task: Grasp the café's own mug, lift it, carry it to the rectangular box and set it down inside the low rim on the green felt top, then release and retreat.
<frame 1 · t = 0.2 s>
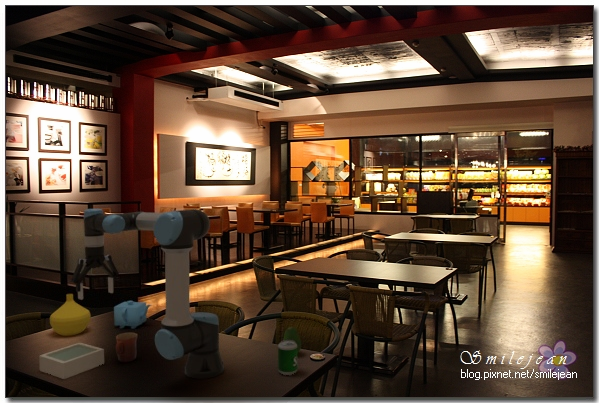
hand: (96, 295, 211), 27 cm above the table, fingers open, 13 cm apart
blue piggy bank: (136, 326, 258), on the table
vase: (71, 333, 247), on the table
soda can: (287, 373, 196), on the table
fruit: (292, 355, 215), on the table
rectangular box: (72, 367, 203), on the table
mug: (125, 361, 209), on the table
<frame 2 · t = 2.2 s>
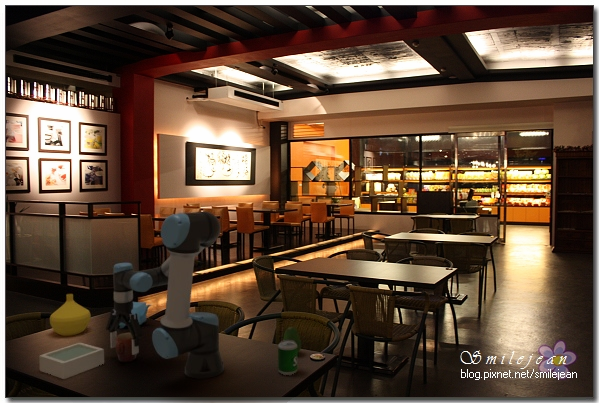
hand: (124, 350, 209), 4 cm above the table, fingers open, 13 cm apart
nothing on the table moved.
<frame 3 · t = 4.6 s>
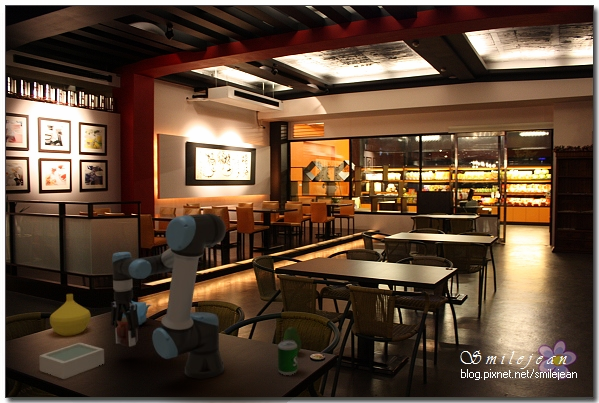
hand: (125, 343, 209), 8 cm above the table, fingers closed on mug, 7 cm apart
mug: (126, 345, 208), point 7 cm above the table, touching gripper
everything else where it was.
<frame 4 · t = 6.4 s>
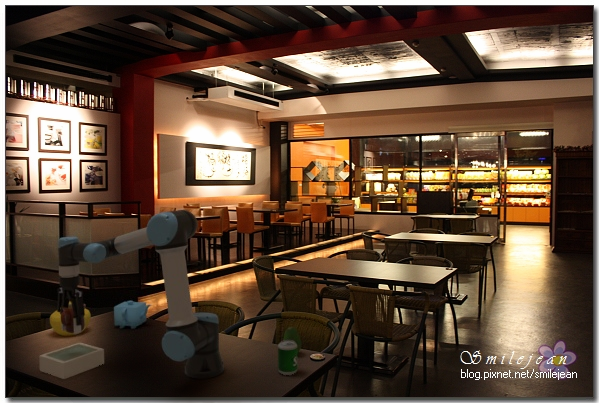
hand: (71, 331, 202), 15 cm above the table, fingers closed on mug, 7 cm apart
mug: (72, 332, 202), point 14 cm above the table, touching gripper
everything else where it was.
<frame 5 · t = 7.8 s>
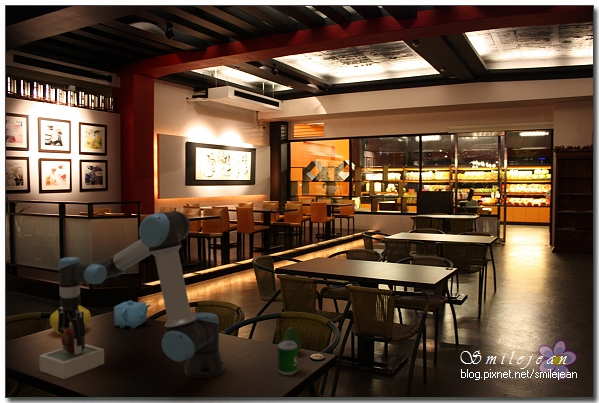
hand: (72, 351, 203), 7 cm above the table, fingers closed on mug, 7 cm apart
mug: (73, 352, 203), point 6 cm above the table, touching gripper
everything else where it was.
when the fingers open (6 cm above the table, at t = 8.7 s): mug stays where it is, resting on rectangular box.
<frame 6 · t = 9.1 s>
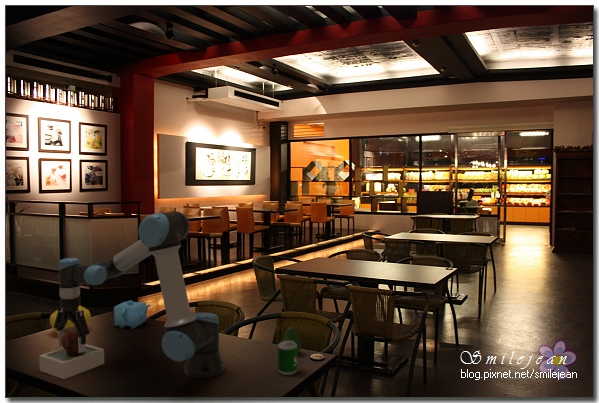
hand: (71, 348, 203), 8 cm above the table, fingers open, 13 cm apart
mug: (73, 355, 203), point 5 cm above the table, touching rectangular box
everything else where it was.
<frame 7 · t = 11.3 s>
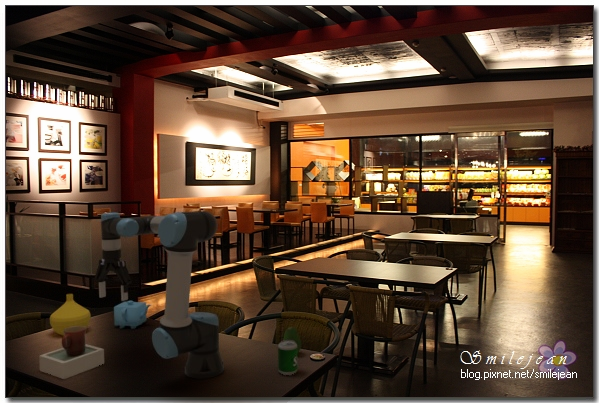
hand: (113, 298, 213), 25 cm above the table, fingers open, 13 cm apart
nothing on the table moved.
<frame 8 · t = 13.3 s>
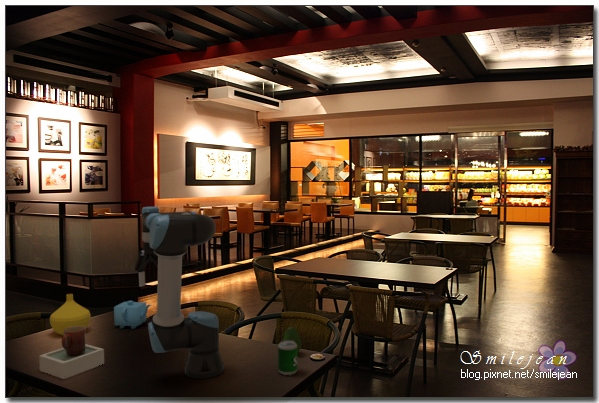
hand: (152, 287, 226), 27 cm above the table, fingers open, 13 cm apart
nothing on the table moved.
at the end: mug inside the target area on the rectangular box (0.6 cm from its centre), point 4.9 cm above the rectangular box's base; mug tilted 0°; the gripper is holding nothing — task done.
